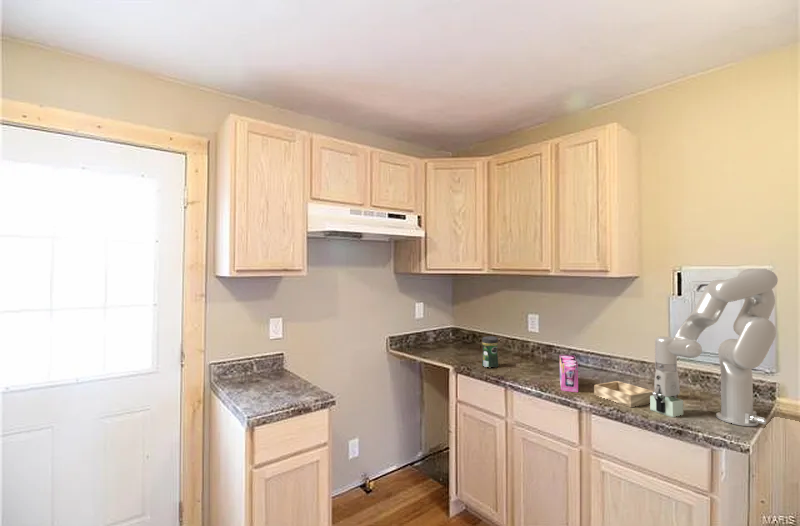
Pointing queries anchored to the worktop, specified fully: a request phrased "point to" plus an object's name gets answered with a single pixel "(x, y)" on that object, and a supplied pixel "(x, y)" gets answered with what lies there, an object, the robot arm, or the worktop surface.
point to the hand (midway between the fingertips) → (666, 410)
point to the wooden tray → (623, 393)
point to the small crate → (668, 406)
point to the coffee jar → (490, 351)
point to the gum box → (568, 373)
